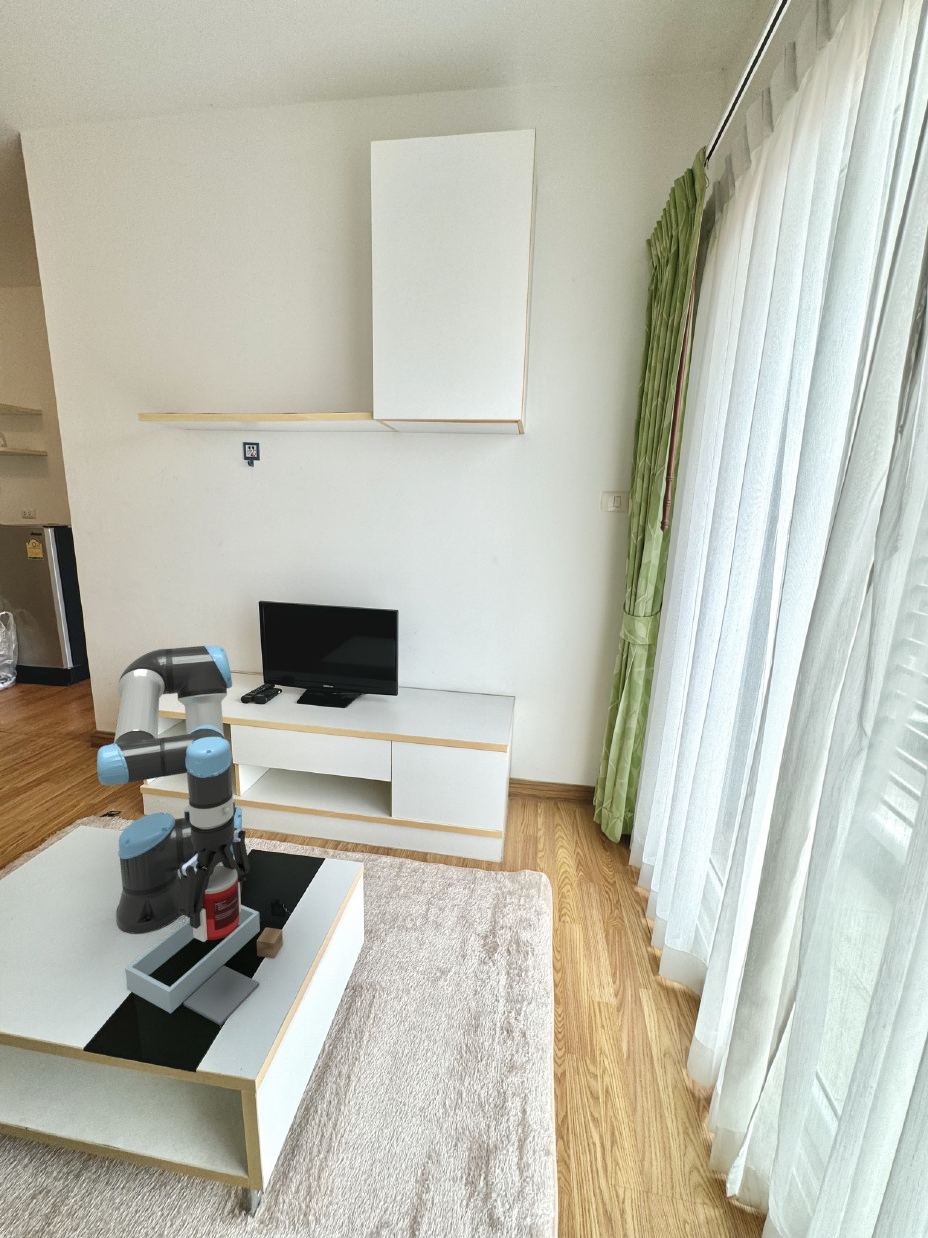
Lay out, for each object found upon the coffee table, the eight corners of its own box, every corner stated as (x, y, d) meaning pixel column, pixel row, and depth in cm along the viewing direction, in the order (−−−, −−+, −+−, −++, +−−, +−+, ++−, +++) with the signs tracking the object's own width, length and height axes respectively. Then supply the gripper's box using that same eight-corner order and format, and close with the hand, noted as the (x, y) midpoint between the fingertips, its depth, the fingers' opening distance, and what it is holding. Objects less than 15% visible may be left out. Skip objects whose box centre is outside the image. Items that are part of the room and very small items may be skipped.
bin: (127, 989, 110) (125, 968, 109) (220, 913, 131) (219, 895, 130) (170, 1013, 105) (169, 992, 104) (259, 930, 127) (259, 912, 126)
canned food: (204, 912, 110) (201, 865, 108) (245, 911, 111) (243, 864, 108) (189, 942, 102) (185, 891, 100) (232, 941, 103) (230, 890, 101)
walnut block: (257, 956, 120) (256, 941, 119) (266, 942, 123) (265, 927, 123) (274, 959, 119) (273, 943, 118) (282, 945, 123) (282, 930, 122)
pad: (183, 1005, 107) (183, 1003, 107) (223, 967, 116) (223, 965, 116) (220, 1025, 103) (220, 1023, 103) (259, 985, 112) (259, 982, 112)
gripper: (179, 855, 91) (187, 969, 96) (267, 798, 110) (270, 897, 114) (148, 842, 94) (157, 954, 98) (239, 790, 113) (243, 886, 117)
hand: (218, 923), depth 106 cm, fingers closed on canned food, 8 cm apart
